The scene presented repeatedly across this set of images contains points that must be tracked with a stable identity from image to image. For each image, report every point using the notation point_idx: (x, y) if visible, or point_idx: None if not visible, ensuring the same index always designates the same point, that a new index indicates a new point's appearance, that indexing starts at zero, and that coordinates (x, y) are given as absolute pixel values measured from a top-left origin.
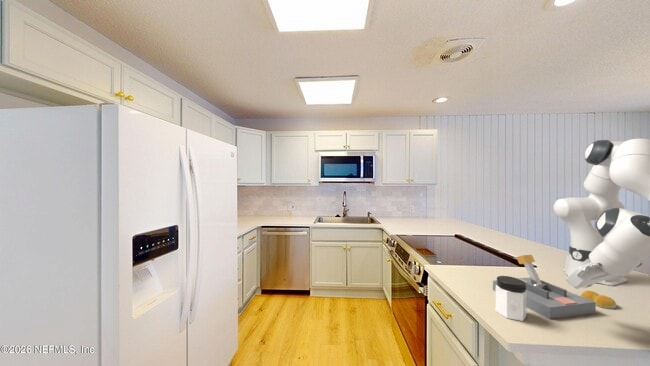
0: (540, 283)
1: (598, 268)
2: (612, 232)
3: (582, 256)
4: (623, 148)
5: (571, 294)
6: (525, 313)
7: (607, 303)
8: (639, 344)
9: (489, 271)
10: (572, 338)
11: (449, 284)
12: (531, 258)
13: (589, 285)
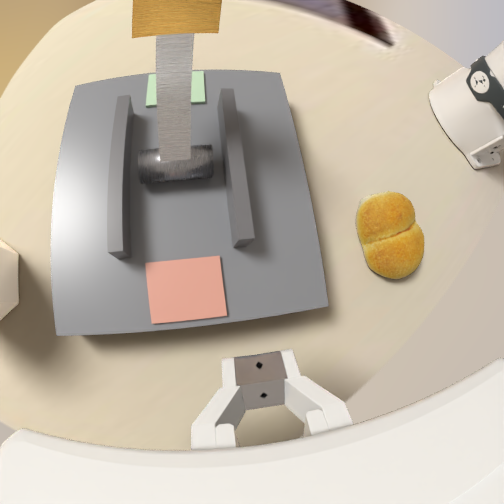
0: (179, 155)
1: None
2: None
3: (486, 92)
4: None
5: (296, 227)
6: (1, 311)
7: (390, 272)
8: None
9: (224, 14)
10: (61, 427)
11: (5, 91)
12: (199, 10)
13: (258, 403)
